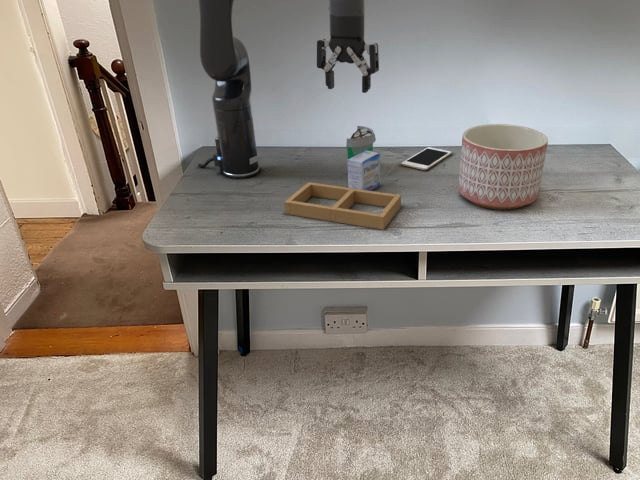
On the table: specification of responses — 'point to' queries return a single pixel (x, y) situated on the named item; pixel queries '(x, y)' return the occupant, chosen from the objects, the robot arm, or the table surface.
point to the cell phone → (426, 158)
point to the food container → (360, 141)
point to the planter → (501, 165)
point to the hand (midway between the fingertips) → (347, 90)
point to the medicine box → (364, 171)
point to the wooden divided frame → (343, 205)
